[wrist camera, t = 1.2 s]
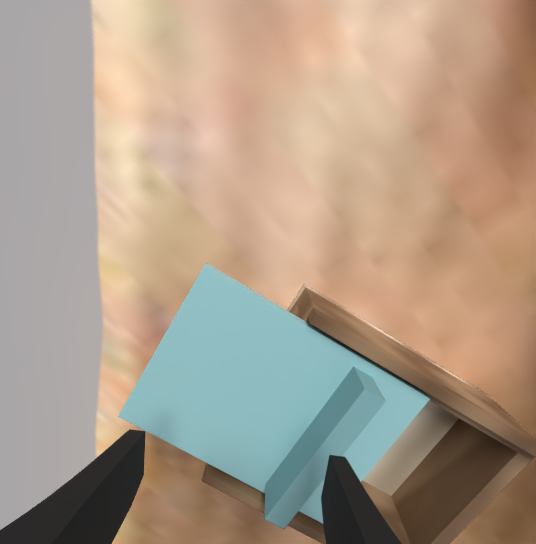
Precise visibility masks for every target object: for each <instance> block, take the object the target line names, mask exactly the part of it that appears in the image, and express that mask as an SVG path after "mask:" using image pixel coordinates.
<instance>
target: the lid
mask: <svg viewBox="0 0 536 544" xmlns="http://www.w3.org/2000/svg"><path fill="white" fill-rule="evenodd" d="M429 400H430V398H429V397H428V395H427V394H426V393H425V392H424V391H422V390H420V389H419V388H417V387H415V386H414V385H412V384H410V383H409V382H407V381H405V380H403V379H402V378H400V377H398V376H397V375H395V374H393V373H392V372H390V371H388V370H387V369H385V368H383V367H382V366H380V365H378V364H376V363H375V362H373V361H371V360H370V359H368V358H366V357H365V356H363V355H361V354H360V353H358V352H356V351H354V350H353V349H351V348H349V347H348V346H346V345H344V344H343V343H341V342H339V341H338V340H336V339H334V338H333V337H331V336H329V335H327V334H326V333H324V332H322V331H321V330H319V329H317V328H316V327H314V326H312V325H311V324H309V323H307V322H305V321H304V320H302V319H300V318H299V317H297V316H295V315H294V314H292V313H290V312H289V311H287V310H285V309H284V308H282V307H280V306H278V305H277V304H275V303H273V302H272V301H270V300H268V299H267V298H265V297H263V296H262V295H260V294H258V293H256V292H255V291H253V290H251V289H250V288H248V287H246V286H245V285H243V284H241V283H240V282H238V281H236V280H235V279H233V278H231V277H229V276H228V275H226V274H224V273H223V272H221V271H219V270H218V269H216V268H214V267H213V266H211V265H209V264H206V265H204V267H203V269H202V271H201V272H200V274H199V276H198V278H197V279H196V281H195V283H194V285H193V286H192V288H191V290H190V292H189V293H188V295H187V297H186V299H185V300H184V302H183V304H182V306H181V307H180V309H179V311H178V313H177V314H176V316H175V318H174V320H173V321H172V323H171V325H170V327H169V328H168V330H167V332H166V334H165V335H164V337H163V339H162V341H161V342H160V344H159V346H158V348H157V349H156V351H155V353H154V355H153V356H152V358H151V360H150V362H149V363H148V365H147V367H146V369H145V370H144V372H143V374H142V376H141V377H140V379H139V381H138V383H137V384H136V386H135V388H134V390H133V391H132V393H131V395H130V397H129V398H128V400H127V402H126V404H125V405H124V407H123V409H122V411H121V412H120V414H119V416H118V417H120V418H122V419H124V420H126V421H128V422H130V423H132V424H134V425H135V426H137V427H139V428H141V429H143V430H145V431H147V432H149V433H151V434H153V435H155V436H156V437H158V438H160V439H162V440H164V441H166V442H168V443H170V444H172V445H174V446H176V447H177V448H179V449H181V450H183V451H185V452H187V453H189V454H191V455H193V456H195V457H197V458H198V459H200V460H202V461H204V462H206V463H208V464H210V465H212V466H214V467H216V468H218V469H219V470H221V471H223V472H225V473H227V474H229V475H231V476H233V477H235V478H237V479H239V480H240V481H242V482H244V483H246V484H248V485H250V486H252V487H254V488H256V489H258V490H260V491H261V492H263V493H265V515H264V519H265V520H267V521H269V522H271V523H273V524H275V525H276V526H278V527H280V528H282V529H285V527H286V526H287V525H288V523H289V522H290V521H291V520H292V518H293V517H294V516H295V515H296V513H297V512H298V511H300V512H302V513H303V514H305V515H307V516H309V517H311V518H313V519H315V520H317V521H319V522H321V523H323V516H322V504H321V495H322V490H323V485H324V480H325V475H326V470H327V465H328V460H329V455H335V456H343V457H346V459H347V460H348V462H349V463H350V465H351V467H352V468H353V470H354V472H355V473H356V475H357V477H358V478H359V480H360V482H361V481H362V480H363V479H364V478H365V477H366V475H367V474H368V473H369V472H370V471H371V470H372V468H373V467H374V466H375V465H376V464H377V462H378V461H379V460H380V459H381V458H382V456H383V455H384V454H385V453H386V452H387V450H388V449H389V448H390V447H391V446H392V444H393V443H394V442H395V441H396V440H397V438H398V437H399V436H400V435H401V434H402V432H403V431H404V430H405V429H406V428H407V426H408V425H409V424H410V423H411V422H412V420H413V419H414V418H415V417H416V416H417V414H418V413H419V412H420V411H421V410H422V408H423V407H424V406H425V405H426V404H427V402H428V401H429Z"/></svg>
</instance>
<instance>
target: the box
mask: <svg viewBox="0 0 536 544" xmlns="http://www.w3.org/2000/svg"><path fill="white" fill-rule="evenodd" d="M287 311H289V312H290V313H292V314H294V315H295V316H297V317H299V318H300V319H302V320H304V321H305V322H307V323H309V324H311V325H312V326H314V327H316V328H317V329H319V330H321V331H322V332H324V333H326V334H327V335H329V336H331V337H333V338H334V339H336V340H338V341H339V342H341V343H343V344H344V345H346V346H348V347H349V348H351V349H353V350H354V351H356V352H358V353H360V354H361V355H363V356H365V357H366V358H368V359H370V360H371V361H373V362H375V363H376V364H378V365H380V366H382V367H383V368H385V369H387V370H388V371H390V372H392V373H393V374H395V375H397V376H398V377H400V378H402V379H403V380H405V381H407V382H409V383H410V384H412V385H414V386H415V387H417V388H419V389H420V390H422V391H424V392H425V393H426V394H427V395H428V397H429V398H430V400H429V401H428V402H427V404H426V405H425V406H424V407H423V408H422V410H421V411H420V412H419V413H418V414H417V416H416V417H415V418H414V419H413V420H412V422H411V423H410V424H409V425H408V426H407V428H406V429H405V430H404V431H403V432H402V434H401V435H400V436H399V437H398V438H397V440H396V441H395V442H394V443H393V444H392V446H391V447H390V448H389V449H388V450H387V452H386V453H385V454H384V455H383V456H382V458H381V459H380V460H379V461H378V462H377V464H376V465H375V466H374V467H373V468H372V470H371V471H370V472H369V473H368V474H367V475H366V477H365V478H364V479H363V480H362V481H361V483H362V485H363V487H364V488H365V490H366V491H367V493H368V495H369V496H370V498H371V499H372V501H373V502H374V504H375V505H376V507H377V508H378V510H379V511H380V513H381V514H382V516H383V517H384V519H385V520H386V522H387V523H388V525H389V526H390V528H391V529H392V530H393V532H394V533H395V535H396V536H397V537H398V539H399V540H400V542H401V543H402V544H450V543H451V542H452V541H453V540H454V539H455V538H456V537H457V536H458V535H459V534H460V533H461V532H462V531H463V530H464V529H465V528H466V527H467V526H468V525H469V524H470V523H471V521H472V520H473V519H474V518H475V517H476V516H477V515H478V514H479V513H480V512H481V511H482V510H483V509H484V508H485V507H486V506H487V505H488V504H489V503H490V502H491V501H492V500H493V499H494V498H495V497H496V496H497V495H498V494H499V493H500V492H501V491H502V490H503V489H504V488H505V487H506V486H507V485H508V484H509V482H510V481H511V480H512V479H513V478H514V477H515V476H516V475H517V474H518V473H519V472H520V471H521V470H522V469H523V468H524V467H525V466H526V465H527V464H528V463H529V462H530V461H531V460H532V459H533V458H534V457H536V437H535V436H534V435H532V434H531V433H530V432H529V431H528V430H527V429H525V428H524V427H523V426H522V425H521V424H520V423H519V422H517V421H516V420H515V419H514V418H513V417H512V416H511V415H509V414H508V413H507V412H506V411H505V410H504V409H502V408H501V407H500V406H499V405H498V404H497V403H496V402H494V401H493V400H492V399H491V398H490V397H489V396H488V395H486V394H485V393H484V392H482V391H481V390H479V389H477V388H476V387H474V386H472V385H471V384H469V383H467V382H466V381H464V380H462V379H461V378H459V377H457V376H456V375H454V374H453V373H451V372H449V371H448V370H446V369H444V368H443V367H441V366H439V365H438V364H436V363H434V362H433V361H431V360H429V359H428V358H426V357H424V356H423V355H421V354H419V353H418V352H416V351H415V350H413V349H411V348H410V347H408V346H406V345H405V344H403V343H401V342H400V341H398V340H396V339H395V338H393V337H391V336H390V335H388V334H386V333H385V332H383V331H381V330H380V329H378V328H376V327H375V326H373V325H372V324H370V323H368V322H367V321H365V320H363V319H362V318H360V317H358V316H357V315H355V314H353V313H352V312H350V311H348V310H347V309H345V308H343V307H342V306H340V305H338V304H337V303H335V302H334V301H332V300H330V299H329V298H327V297H325V296H324V295H322V294H320V293H319V292H317V291H315V290H314V289H312V288H310V287H309V286H307V285H305V284H304V285H303V287H302V289H301V290H300V292H299V293H298V295H297V296H296V298H295V299H294V301H293V302H292V304H291V305H290V307H289V308H288V310H287ZM202 481H203V482H204V483H206V484H208V485H210V486H212V487H214V488H216V489H218V490H220V491H222V492H224V493H226V494H228V495H230V496H232V497H234V498H235V499H237V500H239V501H241V502H243V503H245V504H247V505H249V506H251V507H253V508H255V509H257V510H259V511H261V512H263V513H264V514H265V493H263V492H261V491H260V490H258V489H256V488H254V487H252V486H250V485H248V484H246V483H244V482H242V481H240V480H239V479H237V478H235V477H233V476H231V475H229V474H227V473H225V472H223V471H221V470H219V469H218V468H216V467H214V466H212V465H210V464H208V463H206V467H205V471H204V474H203V478H202ZM288 526H290V527H292V528H294V529H295V530H297V531H299V532H301V533H303V534H305V535H307V536H309V537H311V538H313V539H315V540H317V541H319V542H321V543H323V544H326V539H325V533H324V526H323V523H321V522H319V521H317V520H315V519H313V518H311V517H309V516H307V515H305V514H303V513H302V512H300V511H298V512H297V513H296V515H295V516H294V517H293V518H292V520H291V521H290V522H289V523H288Z"/></svg>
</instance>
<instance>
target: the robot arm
mask: <svg viewBox="0 0 536 544" xmlns="http://www.w3.org/2000/svg"><path fill="white" fill-rule="evenodd" d="M144 453H145V431H138V430H129V431H127V432H126V433H125V434H124V435H123V436H121V437H120V438H119V439H118V440H117V441H116V442H115V443H113V444H112V445H111V446H110V447H109V448H108V449H107V450H105V451H104V452H103V453H102V454H101V455H100V456H98V457H97V458H96V459H95V460H94V461H93V462H91V463H90V464H89V465H88V466H87V467H85V468H84V469H83V470H82V471H81V472H79V473H78V474H77V475H76V476H74V477H73V478H72V479H71V480H69V481H68V482H67V483H65V484H64V485H63V486H62V487H60V488H59V489H58V490H56V491H55V492H54V493H53V494H51V495H50V496H49V497H47V498H46V499H45V500H43V501H42V502H41V503H39V504H38V505H36V506H35V507H34V508H32V509H31V510H29V511H28V512H27V513H25V514H24V515H22V516H21V517H19V518H18V519H16V520H15V521H13V522H12V523H10V524H9V525H7V526H6V527H4V528H3V529H1V530H0V544H112V542H113V540H114V538H115V536H116V534H117V532H118V530H119V528H120V526H121V525H122V523H123V521H124V519H125V517H126V515H127V513H128V511H129V509H130V507H131V505H132V502H133V500H134V498H135V495H136V493H137V490H138V488H139V485H140V483H141V480H142V478H143V475H144ZM321 504H322V516H323V526H324V533H325V539H326V544H402V543H401V542H400V540H399V539H398V537H397V536H396V535H395V533H394V532H393V530H392V529H391V528H390V526H389V525H388V523H387V522H386V520H385V519H384V517H383V516H382V514H381V513H380V511H379V510H378V508H377V507H376V505H375V504H374V502H373V501H372V499H371V498H370V496H369V495H368V493H367V491H366V490H365V488H364V487H363V485H362V483H361V482H360V480H359V478H358V477H357V475H356V473H355V472H354V470H353V468H352V467H351V465H350V463H349V462H348V460H347V459H346V457H343V456H335V455H329V460H328V465H327V470H326V475H325V480H324V485H323V490H322V495H321Z"/></svg>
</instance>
